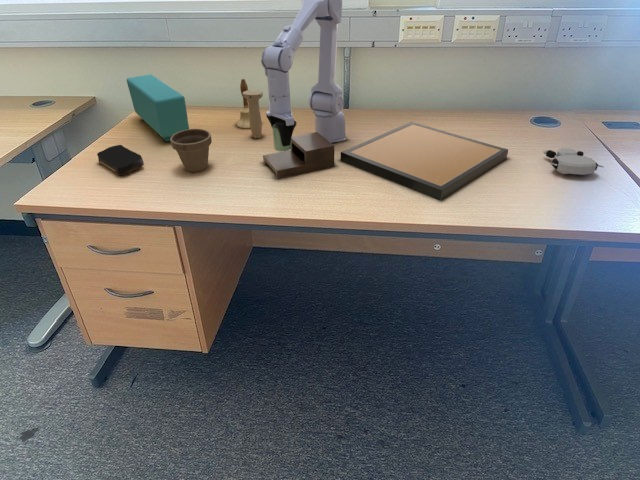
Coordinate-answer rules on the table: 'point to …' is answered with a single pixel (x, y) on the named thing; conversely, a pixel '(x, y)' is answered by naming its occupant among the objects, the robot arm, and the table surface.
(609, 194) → the table surface
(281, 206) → the table surface
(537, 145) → the table surface
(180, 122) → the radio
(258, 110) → the handle
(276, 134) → the pencil cup
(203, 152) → the flower pot
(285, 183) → the table surface
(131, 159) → the black sponge
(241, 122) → the hand bell
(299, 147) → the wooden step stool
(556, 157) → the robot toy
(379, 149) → the cork board
